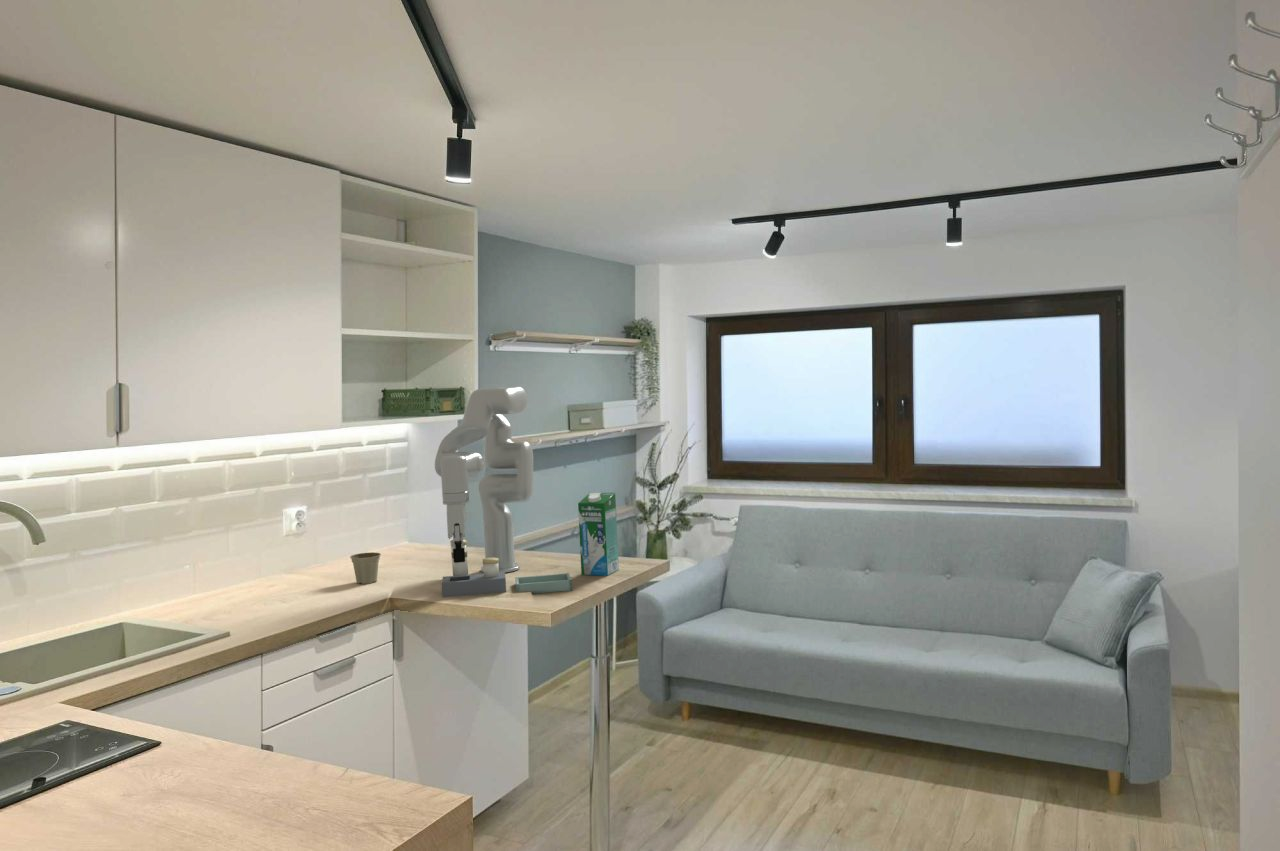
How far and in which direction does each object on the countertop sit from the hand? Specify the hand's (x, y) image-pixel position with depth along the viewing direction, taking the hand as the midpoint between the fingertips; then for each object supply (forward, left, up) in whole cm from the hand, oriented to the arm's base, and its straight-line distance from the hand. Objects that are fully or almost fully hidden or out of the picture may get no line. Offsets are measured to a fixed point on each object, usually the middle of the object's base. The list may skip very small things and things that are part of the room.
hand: (459, 559), depth 257 cm
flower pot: (-29, -30, -11) cm, 44 cm away
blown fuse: (0, 0, -4) cm, 4 cm away
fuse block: (+1, +4, -10) cm, 11 cm away
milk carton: (-16, +43, -11) cm, 47 cm away
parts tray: (+1, +24, -10) cm, 26 cm away
